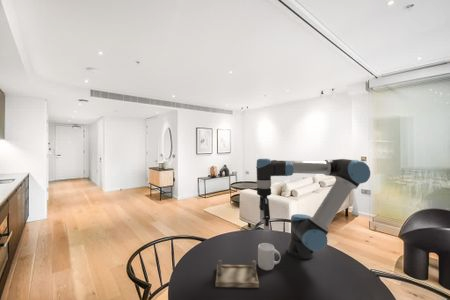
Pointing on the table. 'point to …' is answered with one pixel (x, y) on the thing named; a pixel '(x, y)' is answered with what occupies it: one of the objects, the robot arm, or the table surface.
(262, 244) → the mug
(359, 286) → the table surface
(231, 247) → the table surface
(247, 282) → the tray
